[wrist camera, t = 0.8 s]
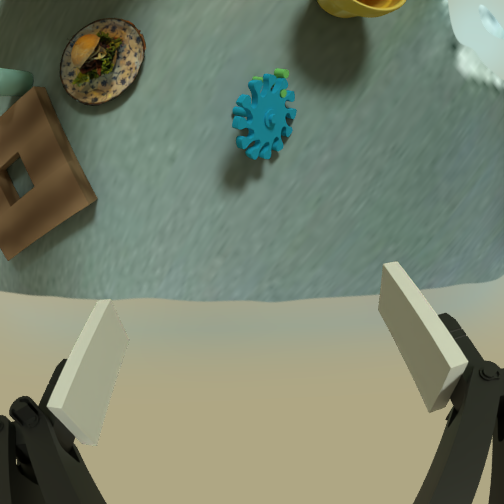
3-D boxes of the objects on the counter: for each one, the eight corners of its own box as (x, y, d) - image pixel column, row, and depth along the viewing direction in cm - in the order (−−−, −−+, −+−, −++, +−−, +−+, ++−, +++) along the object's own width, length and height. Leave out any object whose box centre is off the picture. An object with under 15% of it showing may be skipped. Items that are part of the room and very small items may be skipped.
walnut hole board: (-29, 158, 32) (-41, 161, 30) (44, 87, 31) (33, 86, 28) (17, 253, 40) (8, 261, 37) (97, 198, 38) (89, 204, 35)
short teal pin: (11, 82, 29) (-18, 80, 23) (29, 66, 29) (0, 62, 23) (18, 100, 31) (-11, 101, 24) (36, 85, 31) (7, 83, 24)
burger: (83, 121, 34) (56, 123, 27) (54, 53, 29) (25, 44, 23) (163, 74, 33) (149, 64, 26) (130, 5, 28) (112, -16, 21)
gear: (279, 171, 37) (228, 146, 29) (243, 159, 40) (190, 134, 32) (312, 92, 35) (271, 50, 27) (275, 85, 38) (229, 48, 30)
